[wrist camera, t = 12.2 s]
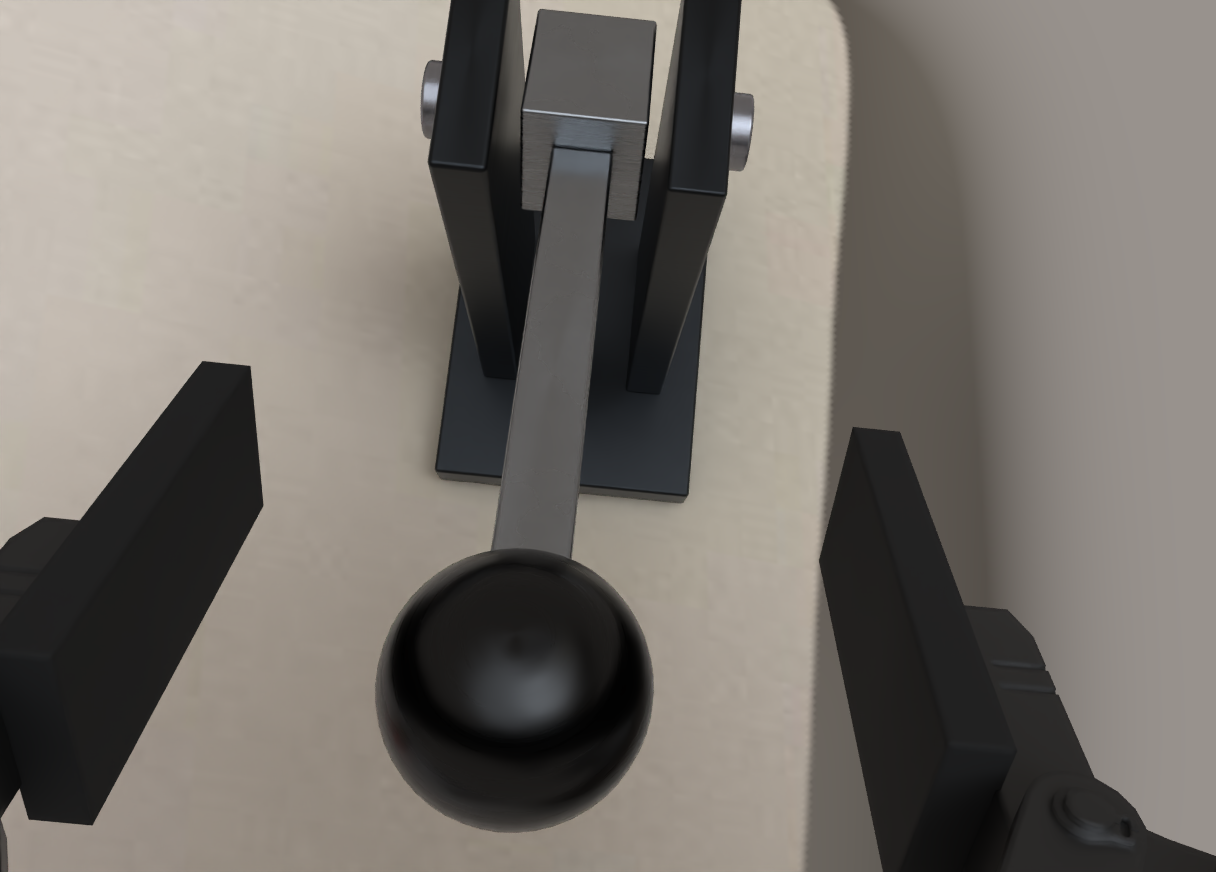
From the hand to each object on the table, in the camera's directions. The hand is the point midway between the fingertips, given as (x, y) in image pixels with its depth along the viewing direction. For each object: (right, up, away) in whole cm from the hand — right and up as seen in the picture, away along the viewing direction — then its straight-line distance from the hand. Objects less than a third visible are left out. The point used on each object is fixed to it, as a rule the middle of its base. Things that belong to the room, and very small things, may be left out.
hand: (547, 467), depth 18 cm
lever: (0, +1, +1) cm, 1 cm away
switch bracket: (0, +4, +14) cm, 15 cm away
